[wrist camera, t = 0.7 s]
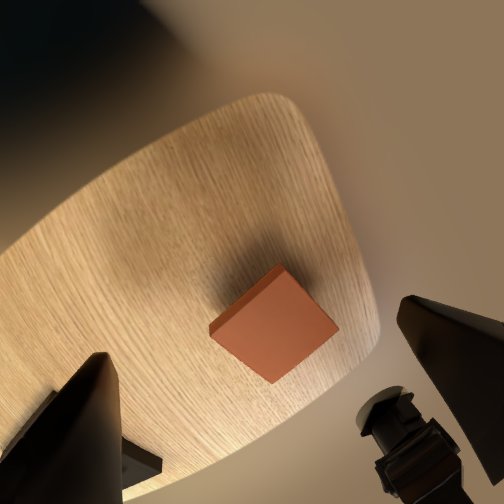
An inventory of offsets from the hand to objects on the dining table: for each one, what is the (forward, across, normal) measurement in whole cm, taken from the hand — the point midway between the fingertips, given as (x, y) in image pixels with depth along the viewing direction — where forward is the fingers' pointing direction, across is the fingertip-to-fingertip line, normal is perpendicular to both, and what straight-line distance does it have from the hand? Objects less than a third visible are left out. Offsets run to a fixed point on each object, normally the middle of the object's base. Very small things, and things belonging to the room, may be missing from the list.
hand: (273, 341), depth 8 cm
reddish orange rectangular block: (+12, -3, +7) cm, 14 cm away
